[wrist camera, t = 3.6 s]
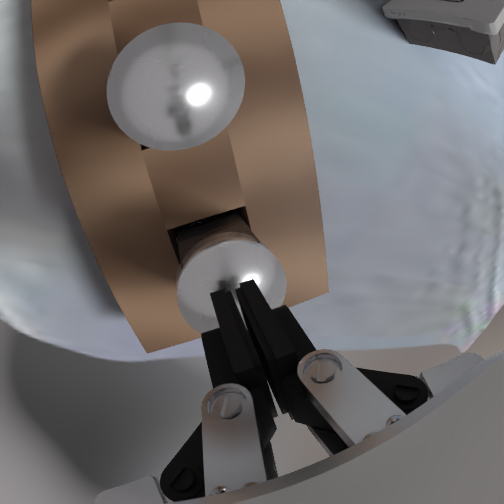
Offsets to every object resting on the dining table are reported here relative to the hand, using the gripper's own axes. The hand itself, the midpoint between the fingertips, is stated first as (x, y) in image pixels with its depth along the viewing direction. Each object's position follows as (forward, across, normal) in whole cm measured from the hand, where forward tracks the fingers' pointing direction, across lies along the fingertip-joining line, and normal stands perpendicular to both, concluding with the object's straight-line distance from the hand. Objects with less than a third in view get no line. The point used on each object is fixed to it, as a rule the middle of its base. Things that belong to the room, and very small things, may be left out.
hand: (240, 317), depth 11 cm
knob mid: (+5, 0, -8) cm, 10 cm away
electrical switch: (+8, -21, -14) cm, 27 cm away
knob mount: (+8, 0, -8) cm, 12 cm away
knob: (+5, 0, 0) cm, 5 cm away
